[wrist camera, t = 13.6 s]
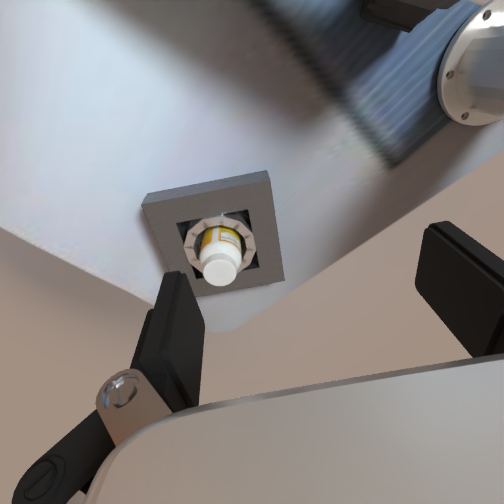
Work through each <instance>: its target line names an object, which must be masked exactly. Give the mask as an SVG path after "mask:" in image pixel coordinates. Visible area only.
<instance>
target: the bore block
mask: <svg viewBox="0 0 504 504" xmlns="http://www.w3.org/2000/svg"><path fill="white" fill-rule="evenodd" d="M141 206H142V208H143V210H144V213H145V215H146V217H147V220H148V222H149V225H150V227H151V229H152V232H153V234H154V236H155V239H156V241H157V243H158V246H159V248H160V251H161V253H162V255H163V258H164V260H165V262H166V265H167V267H168V270H169V272H173V271H178V270H179V271H180V272H181V273H186V275H187V277H188V280H189V283H190V285H191V288H192V290H193V293H194V296H195V297H198V296H204V295H209V294H215V293H220V292H226V291H232V290H237V289H243V288H248V287H254V286H259V285H265V284H270V283H276V282H281V281H285V279H284V272H283V265H282V258H281V251H280V244H279V237H278V230H277V223H276V217H275V210H274V203H273V196H272V189H271V182H270V178H269V175H268V172H267V170H266V171H260V172H255V173H250V174H245V175H240V176H235V177H230V178H225V179H220V180H214V181H209V182H204V183H199V184H194V185H189V186H184V187H179V188H174V189H168V190H163V191H158V192H153V193H148V194H147V195H146V197H145V199H144V200H143V202H142V204H141ZM247 209H248V211H249V216H250V219H249V218H248V217H247V216H246V215H245V214H244V213H243V212H242V211H241V210H247ZM189 220H190V224H189V227H188V231H186V228H185V225H184V221H189ZM218 225H224V226H227V227H231V228H234V229H236V230H237V231H238V232H239V233H240V234H241V235H242V236H243V237H244V240H243V242H242V245H241V264H240V267H239V268H238V270H237V272H236V277H235V279H234V280H233V281H232V282H231V283H230V284H228V285H225V286H215V285H212V284H210V283H208V282H207V281H206V280H205V278H204V276H203V269H202V267H201V265H200V260H199V257H200V251H201V245H200V244H199V241H198V238H197V235H198V234H200V233H201V232H202V231H203V230H204V229H206V228H207V227H212V226H218ZM255 251H257V254H256V255H254V254H255Z"/></svg>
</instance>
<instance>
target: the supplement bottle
mask: <svg viewBox="0 0 504 504" xmlns="http://www.w3.org/2000/svg"><path fill="white" fill-rule="evenodd" d="M199 260H200V265H201V267H202V269H203V276H204V278H205V280H206V281H207V282H208V283H210V284H212V285H215V286H225V285H228V284H230V283H231V282H232V281H233V280H234V279H235V277H236V272H237V270H238V268H239V267H240V264H241V240H240V233H239V232H238V231H237V230H236V229H234V228H231V227H227V226H224V225H218V226H212V227H207V228H206V229H204V232H203V238H202V244H201V251H200V257H199Z"/></svg>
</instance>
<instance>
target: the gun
mask: <svg viewBox="0 0 504 504" xmlns="http://www.w3.org/2000/svg"><path fill="white" fill-rule="evenodd" d="M458 1H460V0H366V1H365V4H364V7H363V10H362V12H361V15H360V17H361V18H363V19H365V20H368V21H372V22H375V23H378V24H382V25H385V26H388V27H392V28H395V29H398V30H402V31H405V32H408V33H409V32H411V31H412V30H413V28H414V27H415V26H416V25H417V24H418V23H420V22H421V21H423V20H424V19H425V18H426V17H427V16H428V15H430V14H431V13H432V12H434V11H435V9H436V8H439V9H448V8H450V7H451V6H452V5H454V4H455V3H457V2H458Z"/></svg>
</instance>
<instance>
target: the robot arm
mask: <svg viewBox="0 0 504 504" xmlns="http://www.w3.org/2000/svg"><path fill="white" fill-rule="evenodd" d="M446 74H447V75H446ZM437 93H438V99H439V102H440V105H441V107H442V109H443V111H444V112H445V113H446V115H447V116H448V117H450V118H451V119H452V120H454V121H456V122H458V123H461V124H465V125H470V126H480V125H486V124H490V123H493V122H495V121H498V120H500V119H502V118H504V0H491V1H489V2H487V3H486V4H484V5H483V6H481V7H480V8H479V9H478V10H477V11H475V12H474V13H473V14H472V15H471V16H470V17H469V18H468V19H467V20H466V21H465V22H464V24H463V25H462V26H461V27H460V28H459V30H458V31H457V33H456V34H455V36H454V37H453V39H452V40H451V42H450V44H449V46H448V48H447V50H446V52H445V54H444V57H443V59H442V62H441V65H440V69H439V74H438V79H437ZM415 286H416V289H417V291H418V292H419V293H420V295H421V296H422V297H423V298H424V299H425V301H426V302H427V303H428V304H429V305H430V306H431V308H432V309H433V310H434V311H435V313H436V314H437V315H438V316H439V317H440V319H441V320H442V321H443V322H444V324H445V325H446V326H447V327H448V328H449V330H450V331H451V332H452V333H453V334H454V336H455V337H456V338H457V339H458V340H459V342H460V343H461V344H462V345H463V347H464V348H465V349H466V350H467V351H468V353H469V354H470V355H471V356H472V357H473V358H470V359H464V360H458V361H452V362H445V363H439V364H433V365H426V366H420V367H415V368H409V369H402V370H396V371H390V372H384V373H378V374H372V375H366V376H360V377H354V378H348V379H343V380H337V381H331V382H325V383H319V384H313V385H307V386H302V387H296V388H290V389H284V390H279V391H273V392H267V393H262V394H256V395H250V396H245V397H240V398H234V399H230V400H224V401H219V402H214V403H209V404H205V405H201V406H198V405H199V393H200V381H201V369H202V357H203V345H204V333H205V323H204V319H203V317H202V314H201V311H200V309H199V306H198V303H197V301H196V298H195V296H194V293H193V290H192V288H191V285H190V283H189V280H188V277H187V275H186V273H181V272H180V271H179V270H178V271H173V272H167V273H165V274H164V276H163V279H162V283H161V286H160V290H159V293H158V296H157V300H156V303H155V306H154V309H150V310H149V311H148V313H147V315H146V318H145V322H144V325H143V328H142V331H141V334H140V337H139V340H138V344H137V347H136V350H135V353H134V356H133V359H132V363H131V366H130V369H125V370H123V371H120V372H118V373H116V374H115V375H113V376H111V378H109V379H108V380H107V381H106V382H105V383H104V384H103V386H102V387H101V388H100V390H99V392H98V394H97V397H96V408H97V409H96V410H95V411H93V412H92V413H91V414H90V415H89V416H88V417H87V418H85V419H84V420H83V421H82V422H81V423H80V424H78V425H77V426H76V427H75V428H74V429H73V430H72V431H70V432H69V433H68V434H67V435H66V436H65V437H64V438H62V439H61V440H60V441H59V442H58V443H57V444H55V445H54V446H53V447H52V448H51V449H50V450H49V451H47V453H45V454H44V455H43V456H42V457H40V458H39V459H38V460H37V461H36V462H35V463H34V464H33V465H32V466H31V467H30V468H29V469H28V470H27V471H26V472H25V474H24V475H23V477H22V478H21V479H20V481H19V483H18V485H17V487H16V489H15V491H14V494H13V498H12V504H504V261H503V260H502V259H501V258H499V257H498V256H496V255H495V254H494V253H492V252H491V251H490V250H488V249H487V248H485V247H484V246H483V245H481V244H480V243H478V242H477V241H476V240H474V239H473V238H472V237H470V236H469V235H467V234H466V233H465V232H463V231H462V230H461V229H459V228H458V227H456V226H455V225H454V224H452V223H451V222H449V221H442V222H437V223H432V224H430V225H429V226H428V228H426V229H425V231H424V234H423V240H422V245H421V251H420V256H419V262H418V267H417V274H416V278H415Z"/></svg>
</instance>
